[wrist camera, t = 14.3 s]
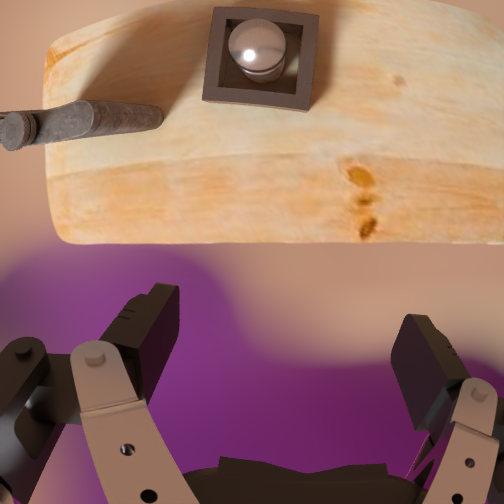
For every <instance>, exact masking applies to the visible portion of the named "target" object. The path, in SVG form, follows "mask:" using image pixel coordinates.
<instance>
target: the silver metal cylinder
mask: <svg viewBox="0 0 504 504" xmlns="http://www.w3.org/2000/svg"><path fill="white" fill-rule="evenodd" d="M228 49H229V54H230V56H231V58H232V60H233V61H234V62H235V63H236V64H237V65H238V66H239V67H240V68H241V69H242V71H243V72H244V74H245V75H246V76H247V77H248V78H249V79H251V80H252V81H255V82H258V83H268V82H271V81H273V80H275V79H277V78H278V77H279V76H280V75H281V73H282V71H283V69H284V62H285V56H286V52H287V41H286V37H285V35H284V34H283V32H282V31H281V29H280V28H279V27H278V26H277V25H275V24H274V23H272V22H270V21H268V20H264V19H251V20H247V21H245V22H242V23H241V24H239V25H238V26H237V27H236V28H235V29H234V30H233V31H232V33H231V35H230V38H229V44H228Z"/></svg>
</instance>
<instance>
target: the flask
mask: <svg viewBox="0 0 504 504" xmlns="http://www.w3.org/2000/svg"><path fill="white" fill-rule="evenodd" d="M162 122H163V113H162V111H161V109H159V108H158V107H155V106H147V105H138V104H129V103H119V102H107V101H93V100H77V101H75V102H72V103H69V104H66V105H63V106H60V107H56V108H52V109H48V110H29V111H11V112H0V145H3V146H4V147H5V148H6V149H7V150H8V151H14V150H18V149H21V148H22V147H24V146H31V145H41V144H48V143H54V142H60V141H67V140H73V139H80V138H88V137H96V136H104V135H114V134H124V133H134V132H141V131H147V130H152V129H156V128H158V127H159V126H160V125H161V124H162Z"/></svg>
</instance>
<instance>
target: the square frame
mask: <svg viewBox="0 0 504 504" xmlns="http://www.w3.org/2000/svg"><path fill="white" fill-rule="evenodd" d="M251 19H264V20H268V21H270V22H272V23H274V24H275V25H277V26H278V27H279V28H280V29H281V31H282V32H289V33H296V34H301V43H300V53H299V62H298V70H297V79H296V88H295V95H293V94H286V93H278V92H269V91H260V90H249V89H237V88H224V80H225V71H226V63H227V55H228V44H229V38H230V32H231V28H236V27H237V26H238V25H239V24H241V23H242V22H245V21H247V20H251ZM318 23H319V16H318V15H312V14H305V13H298V12H290V11H282V10H271V9H259V8H243V7H214V11H213V18H212V24H211V31H210V38H209V45H208V53H207V61H206V69H205V77H204V86H203V94H202V100H203V101H206V102H209V103H224V104H237V105H248V106H258V107H267V108H276V109H284V110H291V111H298V112H305V113H306V112H308V111H309V106H310V98H311V89H312V80H313V72H314V62H315V53H316V43H317V33H318Z"/></svg>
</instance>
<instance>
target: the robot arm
mask: <svg viewBox="0 0 504 504" xmlns="http://www.w3.org/2000/svg"><path fill="white" fill-rule="evenodd" d="M179 299H180V292H179V286H178V285H172V284H165V283H159V282H157V283H156V284H155V285H154V286H153V288H152V289H151V291H150V292H149V293H148V295H145V294H139V295H137V296H136V297H134V298H132V299H131V300H129V301H128V302H127V304H126V305H125V306H124V308H123V310H121V312H120V313H119V314H118V316H117V317H116V318H115V319H114V320H113V322H112V323H111V324H110V326H109V327H108V328H107V330H106V331H105V332H104V333H103V335H102V336H101V337H100V339H99V340H97V341H96V340H94V341H88V342H85V343H82V344H80V345H79V346H77V347H76V348H75V349H74V350H73V352H72V353H71V354H50V353H47V352H46V349H45V345H44V344H43V342H42V341H40V340H39V339H37V338H34V337H22V338H19V339H16V340H14V341H12V342H11V343H9V344H8V345H7V346H6V347H5V349H4V350H3V351H2V352H1V353H0V504H28V502H29V500H30V497H31V496H32V493H33V491H34V489H35V487H36V484H37V482H38V480H39V478H40V475H41V473H42V471H43V469H44V467H45V465H46V463H47V461H48V459H49V457H50V455H51V452H52V451H53V449H54V447H55V444H56V443H57V441H58V439H59V437H60V435H61V433H62V431H63V429H64V427H65V425H66V424H79V425H83V428H84V432H85V436H86V439H87V443H88V446H89V449H90V452H91V455H92V459H93V462H94V464H95V468H96V471H97V474H98V476H99V479H100V482H101V485H102V488H103V490H104V493H105V495H106V498H107V500H108V503H109V504H485V501H486V497H487V499H488V503H489V504H504V398H499V397H497V393H496V391H495V390H494V388H493V387H492V386H491V385H490V384H489V383H487V382H486V381H484V380H481V379H478V378H472V377H471V376H470V374H469V372H468V371H467V369H466V367H465V366H464V364H463V363H462V361H461V359H460V358H459V356H457V353H456V351H455V350H454V348H452V345H451V344H450V342H449V340H448V339H447V337H446V336H444V335H443V334H442V333H441V332H440V331H439V330H437V329H436V328H435V327H434V325H433V324H432V322H431V320H430V319H429V317H428V316H427V315H416V314H407V315H406V316H405V318H404V320H403V323H402V325H401V328H400V330H399V333H398V336H397V338H396V341H395V343H394V346H393V348H392V352H391V365H392V368H393V370H394V373H395V376H396V378H397V381H398V383H399V386H400V389H401V392H402V394H403V397H404V400H405V403H406V406H407V408H408V411H409V415H410V417H411V420H412V423H413V426H414V429H415V431H424V430H428V431H429V433H430V434H429V435H428V436H427V438H426V439H425V441H424V443H423V445H422V447H421V449H420V451H419V453H418V455H417V457H416V459H415V461H414V463H413V466H412V467H411V469H410V471H409V473H408V475H407V476H406V478H405V479H403V478H400V477H397V476H393V475H389V474H388V471H387V467H386V464H385V463H383V464H366V465H347V466H343V467H339V468H334V469H330V470H325V471H321V472H316V473H310V474H308V473H307V474H306V473H301V472H297V471H294V470H290V469H286V468H283V467H279V466H276V465H272V464H269V463H265V462H260V461H251V460H243V459H235V458H228V457H222V456H221V457H220V460H219V465H218V467H213V468H204V469H198V470H194V471H189V472H187V473H184V474H181V472H180V470H179V469H178V467H177V465H176V464H175V462H174V460H173V458H172V456H171V454H170V453H169V451H168V449H167V447H166V445H165V443H164V441H163V439H162V437H161V436H160V434H159V432H158V430H157V428H156V426H155V424H154V422H153V420H152V418H151V415H150V413H149V411H148V409H147V406H148V404H149V401H150V399H151V397H152V395H153V392H154V390H155V388H156V385H157V383H158V381H159V379H160V376H161V374H162V372H163V370H164V367H165V365H166V363H167V361H168V358H169V356H170V354H171V352H172V349H173V347H174V345H175V343H176V341H177V337H178V333H179V326H180V319H179V318H180V317H179V315H180V313H179V312H180V310H179V309H180V307H179V306H180V304H179V301H180V300H179ZM23 407H24V408H23ZM21 410H22V411H21ZM19 413H20V414H19ZM17 416H18V417H17ZM16 418H17V419H16Z"/></svg>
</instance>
